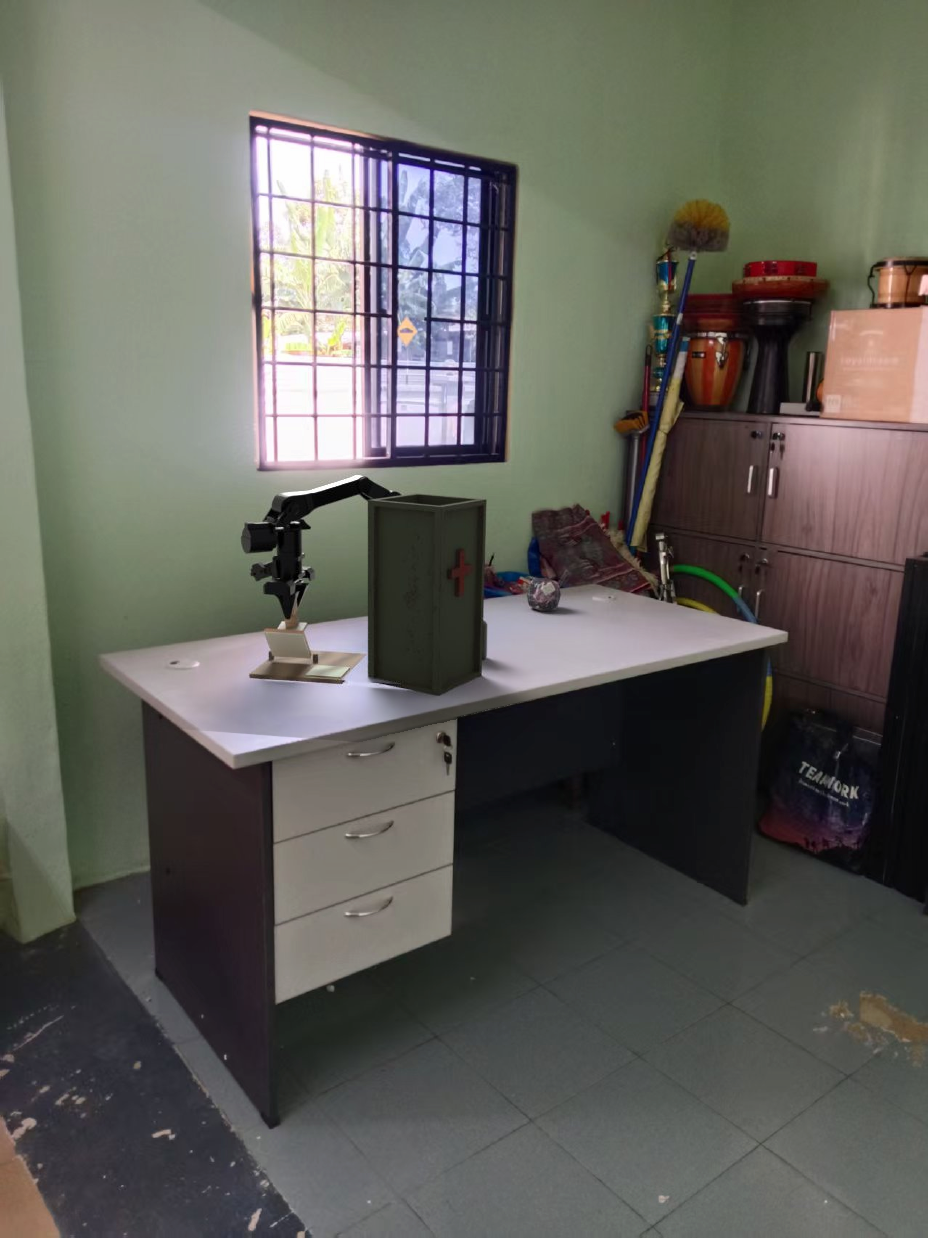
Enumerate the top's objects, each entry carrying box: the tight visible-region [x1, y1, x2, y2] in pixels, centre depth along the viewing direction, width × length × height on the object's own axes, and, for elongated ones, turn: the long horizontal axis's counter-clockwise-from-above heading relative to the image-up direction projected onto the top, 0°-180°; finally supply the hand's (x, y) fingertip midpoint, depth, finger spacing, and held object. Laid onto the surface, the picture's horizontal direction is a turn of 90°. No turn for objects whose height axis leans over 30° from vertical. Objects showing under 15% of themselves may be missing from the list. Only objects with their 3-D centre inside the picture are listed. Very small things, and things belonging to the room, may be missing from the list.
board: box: [248, 649, 367, 685], centre depth 225 cm, size 21×22×3 cm
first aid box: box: [367, 492, 488, 697], centre depth 215 cm, size 18×18×40 cm
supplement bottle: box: [482, 610, 488, 661], centre depth 235 cm, size 7×7×12 cm
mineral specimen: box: [526, 577, 562, 612], centre depth 290 cm, size 10×10×10 cm
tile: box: [263, 628, 312, 659], centre depth 223 cm, size 9×9×1 cm
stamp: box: [277, 600, 308, 632], centre depth 223 cm, size 6×6×8 cm
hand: (290, 617), depth 224 cm, fingers open, 4 cm apart
